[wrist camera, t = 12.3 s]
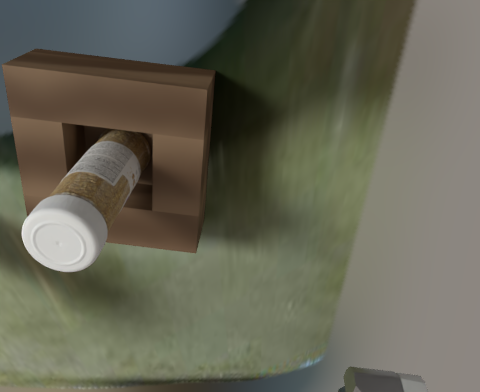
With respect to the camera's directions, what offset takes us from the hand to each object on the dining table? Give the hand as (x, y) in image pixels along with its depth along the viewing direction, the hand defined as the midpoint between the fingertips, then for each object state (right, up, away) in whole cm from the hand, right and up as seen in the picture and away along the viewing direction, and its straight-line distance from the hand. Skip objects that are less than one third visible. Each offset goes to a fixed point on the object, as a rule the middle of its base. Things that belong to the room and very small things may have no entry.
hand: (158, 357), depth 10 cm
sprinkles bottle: (-8, +8, +28) cm, 30 cm away
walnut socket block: (-8, +8, +28) cm, 30 cm away
